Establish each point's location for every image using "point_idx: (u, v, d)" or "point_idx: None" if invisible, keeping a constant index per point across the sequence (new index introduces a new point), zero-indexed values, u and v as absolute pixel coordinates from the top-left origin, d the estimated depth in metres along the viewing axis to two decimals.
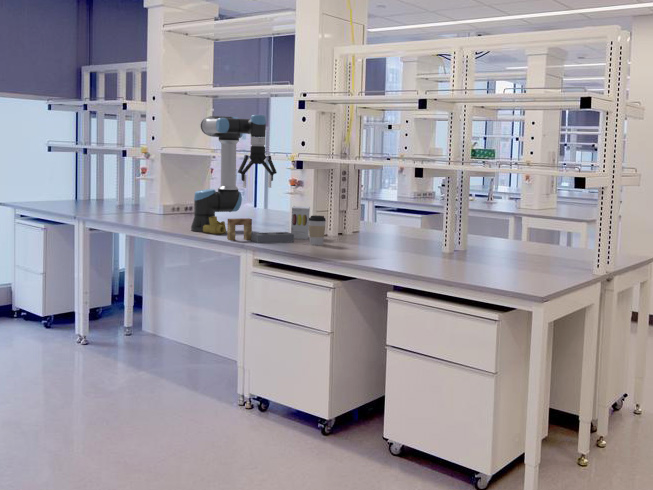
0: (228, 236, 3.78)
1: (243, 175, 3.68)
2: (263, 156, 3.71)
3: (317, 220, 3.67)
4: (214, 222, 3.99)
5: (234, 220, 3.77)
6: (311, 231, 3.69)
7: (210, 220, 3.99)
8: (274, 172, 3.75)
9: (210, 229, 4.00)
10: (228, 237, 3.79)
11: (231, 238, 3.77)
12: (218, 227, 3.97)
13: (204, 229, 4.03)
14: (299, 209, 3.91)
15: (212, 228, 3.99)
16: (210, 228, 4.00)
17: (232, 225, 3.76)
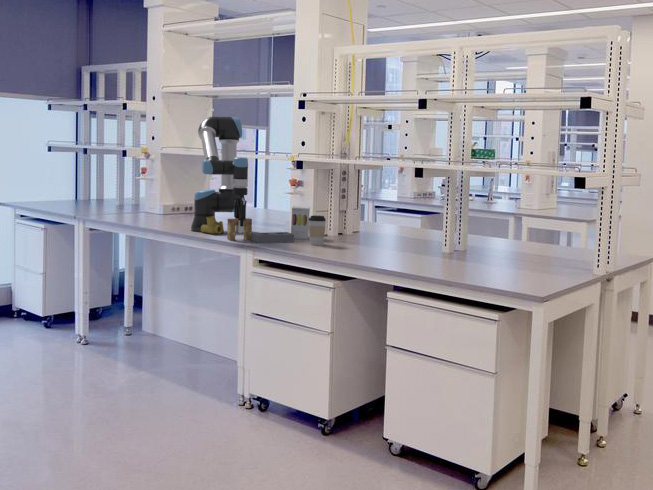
0: (228, 236, 3.78)
1: None
2: (239, 197, 3.75)
3: (317, 220, 3.67)
4: (211, 222, 3.99)
5: (234, 220, 3.77)
6: (311, 231, 3.69)
7: (207, 220, 3.99)
8: (240, 217, 3.75)
9: (207, 229, 4.00)
10: (228, 237, 3.79)
11: (231, 238, 3.77)
12: (215, 227, 3.97)
13: (202, 229, 4.03)
14: (299, 209, 3.91)
15: (209, 228, 3.99)
16: (207, 228, 4.00)
17: (232, 225, 3.76)
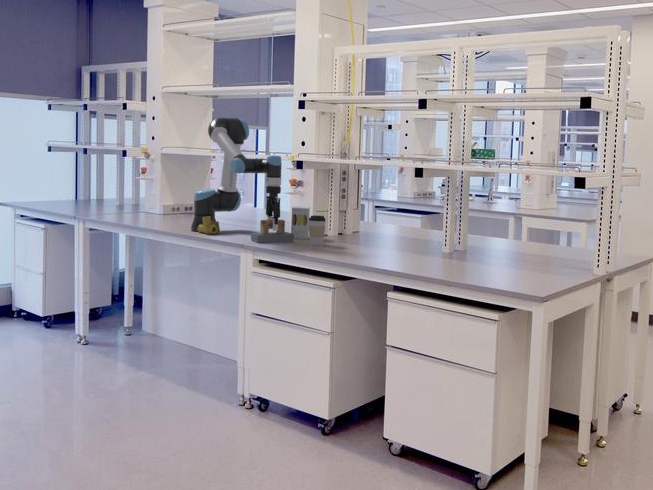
0: None
1: (268, 217, 3.82)
2: (273, 196, 3.73)
3: (317, 220, 3.67)
4: (207, 222, 3.98)
5: (267, 221, 3.75)
6: (311, 231, 3.69)
7: (203, 220, 3.99)
8: (275, 215, 3.72)
9: (203, 229, 3.99)
10: None
11: None
12: (210, 227, 3.96)
13: (198, 229, 4.03)
14: (299, 209, 3.91)
15: (205, 228, 3.98)
16: (203, 228, 3.99)
17: (265, 226, 3.75)
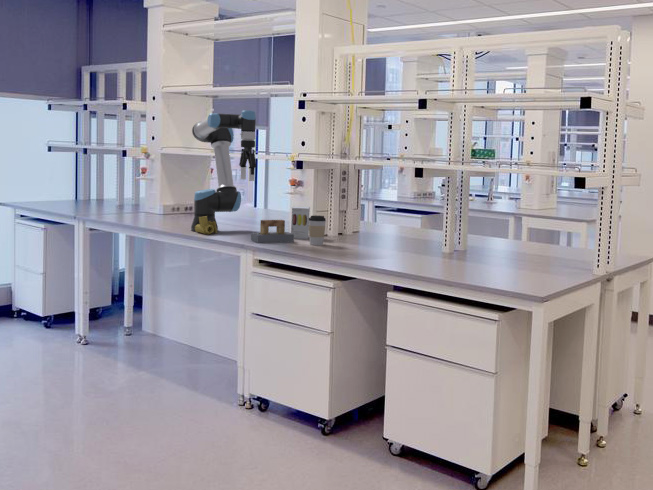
0: None
1: None
2: (247, 150, 3.83)
3: (317, 220, 3.67)
4: (203, 222, 3.98)
5: (267, 221, 3.75)
6: (311, 231, 3.69)
7: (200, 220, 3.98)
8: (251, 166, 3.79)
9: (200, 229, 3.99)
10: None
11: None
12: (206, 227, 3.96)
13: (196, 229, 4.03)
14: (299, 209, 3.91)
15: (201, 228, 3.98)
16: (200, 228, 3.99)
17: (265, 226, 3.75)
